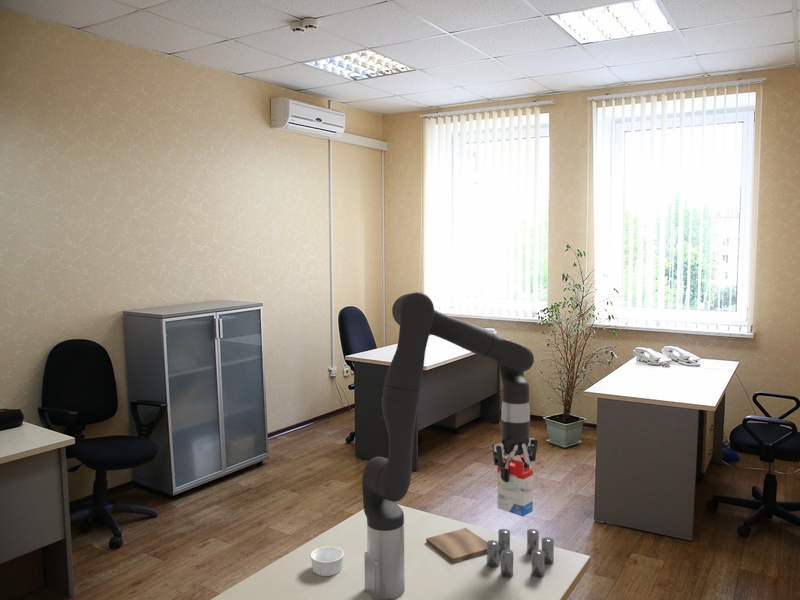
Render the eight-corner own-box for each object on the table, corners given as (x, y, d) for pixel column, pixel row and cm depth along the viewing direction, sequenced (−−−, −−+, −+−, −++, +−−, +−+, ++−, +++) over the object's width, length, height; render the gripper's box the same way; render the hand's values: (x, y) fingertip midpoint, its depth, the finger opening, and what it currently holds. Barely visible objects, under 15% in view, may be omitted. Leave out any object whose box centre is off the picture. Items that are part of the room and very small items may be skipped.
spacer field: (516, 586, 153) (516, 563, 153) (475, 557, 168) (475, 536, 168) (566, 568, 161) (566, 547, 161) (524, 542, 176) (524, 522, 176)
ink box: (533, 512, 163) (534, 458, 162) (523, 517, 159) (524, 462, 159) (506, 503, 169) (507, 451, 168) (496, 508, 165) (496, 455, 164)
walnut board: (452, 563, 165) (452, 558, 165) (426, 542, 177) (426, 538, 177) (494, 550, 172) (494, 546, 171) (465, 531, 184) (465, 527, 184)
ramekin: (326, 558, 168) (326, 543, 168) (350, 567, 163) (350, 551, 163) (303, 571, 161) (303, 555, 161) (328, 581, 156) (328, 565, 156)
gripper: (527, 411, 169) (526, 470, 170) (485, 418, 163) (484, 479, 164) (545, 417, 163) (544, 479, 164) (502, 424, 156) (502, 488, 157)
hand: (514, 479), depth 164 cm, fingers closed on ink box, 6 cm apart
